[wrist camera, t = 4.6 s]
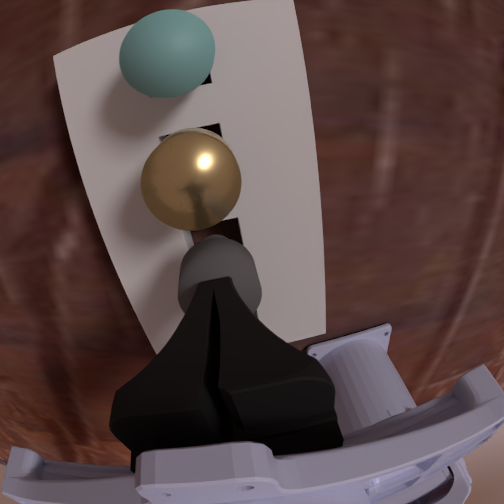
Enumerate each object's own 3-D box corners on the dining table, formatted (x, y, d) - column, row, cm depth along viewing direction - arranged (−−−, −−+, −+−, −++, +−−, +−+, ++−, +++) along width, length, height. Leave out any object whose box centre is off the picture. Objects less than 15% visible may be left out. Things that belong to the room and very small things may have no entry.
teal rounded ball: (219, 88, 14) (222, 85, 10) (148, 104, 14) (128, 108, 10) (206, 23, 12) (207, 0, 8) (136, 41, 12) (112, 25, 8)
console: (315, 311, 24) (325, 333, 21) (164, 342, 23) (162, 365, 21) (281, 9, 13) (292, -2, 11) (71, 59, 13) (53, 56, 10)
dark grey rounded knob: (254, 270, 18) (267, 319, 14) (192, 283, 18) (191, 334, 14) (243, 212, 16) (255, 251, 12) (174, 226, 16) (166, 270, 12)
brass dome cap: (238, 186, 15) (249, 219, 12) (167, 202, 15) (156, 239, 11) (225, 115, 13) (231, 124, 10) (150, 133, 13) (129, 148, 10)
